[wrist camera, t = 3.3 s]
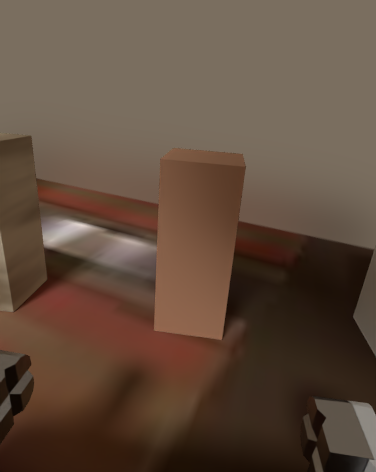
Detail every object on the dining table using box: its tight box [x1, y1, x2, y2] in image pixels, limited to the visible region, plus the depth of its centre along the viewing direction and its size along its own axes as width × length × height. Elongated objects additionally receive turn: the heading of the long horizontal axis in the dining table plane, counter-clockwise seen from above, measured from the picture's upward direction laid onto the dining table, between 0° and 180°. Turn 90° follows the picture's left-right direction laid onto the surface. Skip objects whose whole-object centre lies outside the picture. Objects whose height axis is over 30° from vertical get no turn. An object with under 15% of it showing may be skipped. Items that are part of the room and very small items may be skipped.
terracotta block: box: [154, 148, 246, 340], centre depth 21 cm, size 4×4×11 cm
